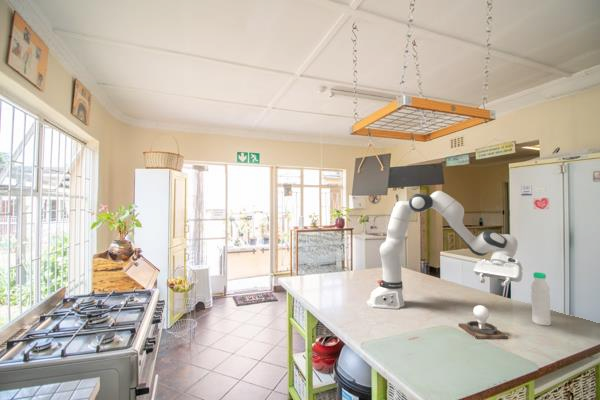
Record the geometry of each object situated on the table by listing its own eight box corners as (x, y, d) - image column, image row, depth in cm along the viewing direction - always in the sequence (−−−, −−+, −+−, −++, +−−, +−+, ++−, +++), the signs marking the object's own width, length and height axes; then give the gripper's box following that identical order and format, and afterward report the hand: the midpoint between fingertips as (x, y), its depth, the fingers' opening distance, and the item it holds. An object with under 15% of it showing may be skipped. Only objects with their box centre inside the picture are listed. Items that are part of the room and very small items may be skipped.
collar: (477, 334, 125) (476, 331, 125) (462, 324, 136) (462, 321, 136) (503, 334, 125) (503, 331, 125) (486, 324, 136) (486, 321, 136)
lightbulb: (490, 333, 126) (489, 308, 126) (473, 330, 129) (472, 306, 130) (489, 328, 131) (488, 304, 132) (473, 325, 135) (473, 302, 135)
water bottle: (546, 327, 135) (544, 275, 136) (529, 322, 142) (527, 272, 143) (553, 324, 138) (551, 273, 140) (536, 319, 145) (534, 271, 146)
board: (476, 338, 124) (475, 336, 124) (458, 325, 138) (458, 323, 138) (507, 338, 123) (507, 336, 123) (487, 325, 137) (487, 323, 137)
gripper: (476, 255, 151) (467, 276, 145) (522, 260, 133) (514, 284, 128) (481, 262, 153) (472, 283, 147) (526, 269, 136) (518, 292, 130)
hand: (492, 284), depth 137 cm, fingers open, 8 cm apart
